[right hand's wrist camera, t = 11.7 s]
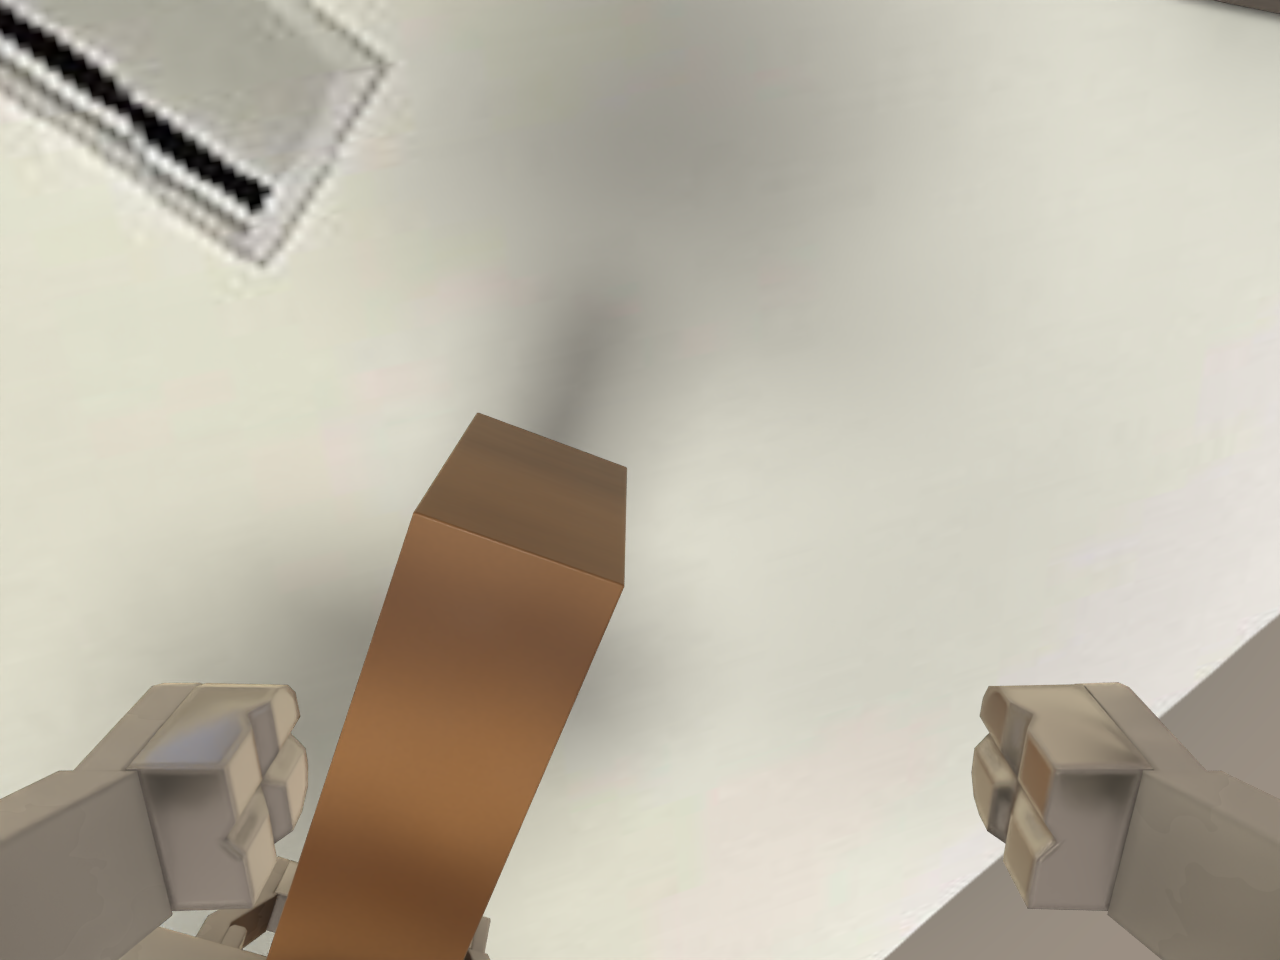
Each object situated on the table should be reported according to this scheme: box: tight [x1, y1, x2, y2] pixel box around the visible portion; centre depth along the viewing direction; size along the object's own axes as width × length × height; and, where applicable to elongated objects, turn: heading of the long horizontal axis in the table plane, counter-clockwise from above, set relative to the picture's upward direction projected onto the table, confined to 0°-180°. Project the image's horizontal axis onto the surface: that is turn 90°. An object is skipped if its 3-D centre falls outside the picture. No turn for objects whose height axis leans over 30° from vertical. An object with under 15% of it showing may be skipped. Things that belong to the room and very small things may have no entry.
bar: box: [266, 413, 627, 960], centre depth 29 cm, size 22×5×9 cm, turn 159°
